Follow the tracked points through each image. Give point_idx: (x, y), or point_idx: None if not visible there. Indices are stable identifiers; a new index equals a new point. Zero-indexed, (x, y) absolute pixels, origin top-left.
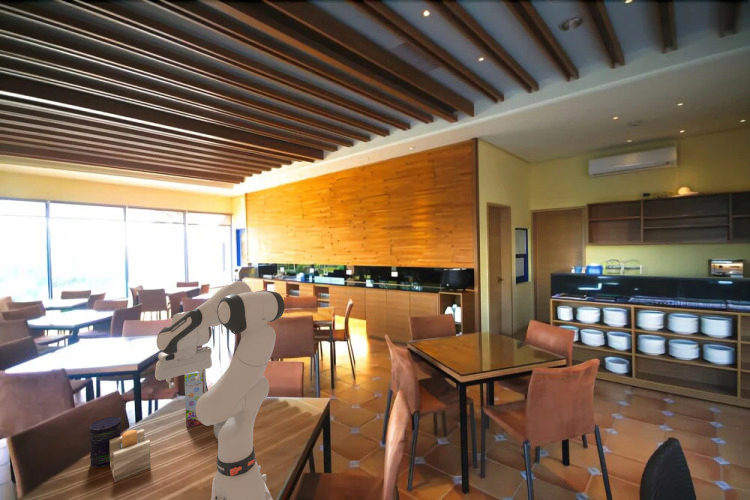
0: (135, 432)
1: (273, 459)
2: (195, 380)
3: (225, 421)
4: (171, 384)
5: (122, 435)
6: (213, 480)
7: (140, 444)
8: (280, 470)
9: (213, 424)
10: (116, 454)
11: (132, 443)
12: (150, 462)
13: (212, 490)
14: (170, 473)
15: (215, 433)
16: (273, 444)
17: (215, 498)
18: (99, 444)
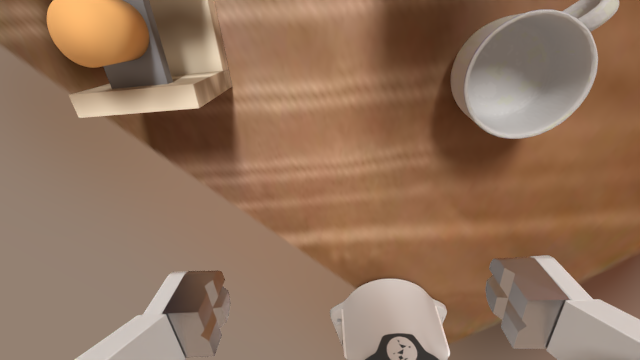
0: (111, 46)
1: None
2: (495, 276)
3: (535, 18)
4: (179, 357)
5: (51, 35)
6: (344, 355)
7: (163, 103)
8: (488, 307)
9: (465, 75)
10: (87, 116)
11: (128, 60)
12: (227, 89)
13: (342, 330)
14: (282, 160)
15: (453, 84)
16: (554, 218)
17: (342, 340)
18: None
